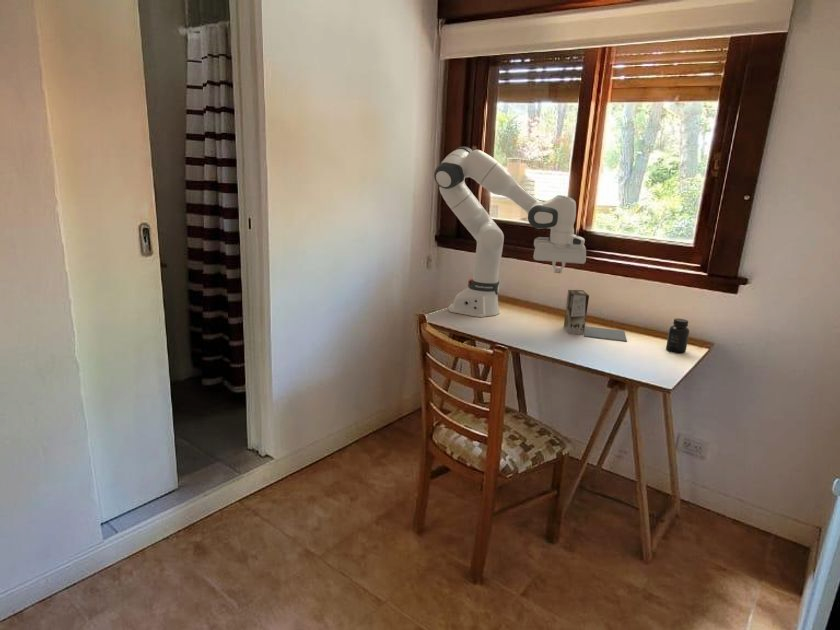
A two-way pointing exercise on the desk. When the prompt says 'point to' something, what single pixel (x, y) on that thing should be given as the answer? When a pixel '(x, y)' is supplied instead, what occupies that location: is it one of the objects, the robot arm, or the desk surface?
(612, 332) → the mat
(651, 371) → the desk surface
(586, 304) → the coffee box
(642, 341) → the desk surface
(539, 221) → the robot arm
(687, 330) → the supplement bottle
